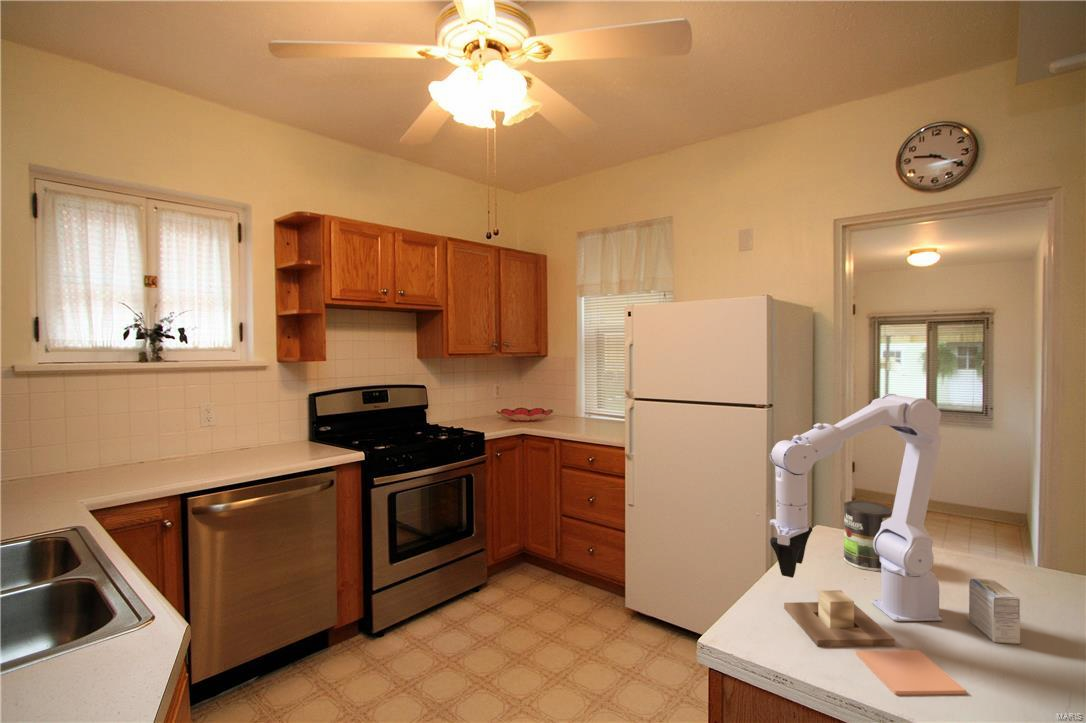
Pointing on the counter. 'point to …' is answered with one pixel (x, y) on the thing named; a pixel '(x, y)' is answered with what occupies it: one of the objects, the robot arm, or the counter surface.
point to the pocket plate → (821, 635)
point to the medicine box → (994, 610)
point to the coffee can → (863, 533)
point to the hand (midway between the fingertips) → (792, 568)
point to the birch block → (836, 609)
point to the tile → (909, 672)
